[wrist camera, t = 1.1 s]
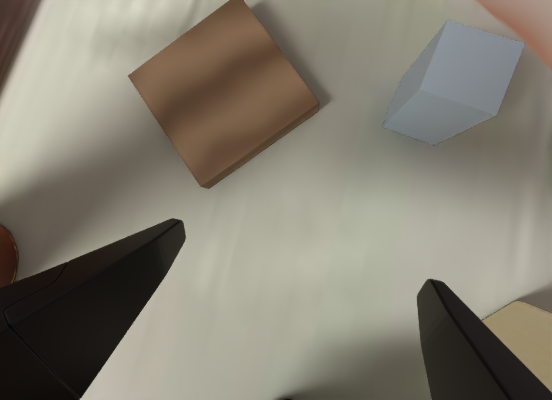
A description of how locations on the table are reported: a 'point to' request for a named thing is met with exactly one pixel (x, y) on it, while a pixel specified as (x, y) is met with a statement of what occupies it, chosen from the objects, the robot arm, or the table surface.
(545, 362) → the tall beige block
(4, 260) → the wafer roll
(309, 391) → the table surface
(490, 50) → the blue-grey block
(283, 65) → the walnut block
